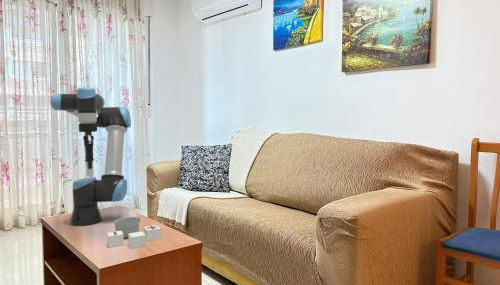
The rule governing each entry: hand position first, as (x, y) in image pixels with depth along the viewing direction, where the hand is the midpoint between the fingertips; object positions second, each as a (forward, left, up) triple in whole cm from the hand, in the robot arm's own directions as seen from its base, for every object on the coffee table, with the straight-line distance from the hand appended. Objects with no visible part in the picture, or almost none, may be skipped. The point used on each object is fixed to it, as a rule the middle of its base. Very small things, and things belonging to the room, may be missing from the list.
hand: (90, 175), depth 166 cm
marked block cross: (+11, +24, -30) cm, 40 cm away
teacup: (+1, +16, -30) cm, 34 cm away
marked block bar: (+11, +8, -30) cm, 33 cm away
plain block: (+17, +16, -30) cm, 38 cm away
